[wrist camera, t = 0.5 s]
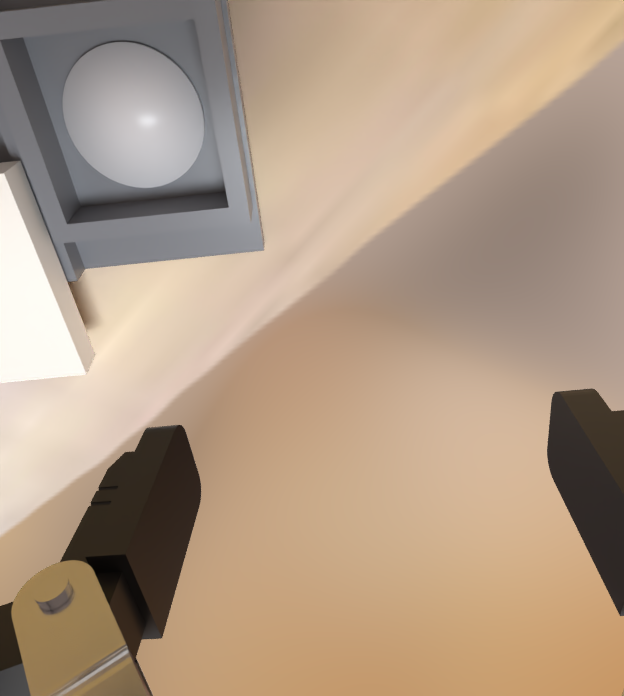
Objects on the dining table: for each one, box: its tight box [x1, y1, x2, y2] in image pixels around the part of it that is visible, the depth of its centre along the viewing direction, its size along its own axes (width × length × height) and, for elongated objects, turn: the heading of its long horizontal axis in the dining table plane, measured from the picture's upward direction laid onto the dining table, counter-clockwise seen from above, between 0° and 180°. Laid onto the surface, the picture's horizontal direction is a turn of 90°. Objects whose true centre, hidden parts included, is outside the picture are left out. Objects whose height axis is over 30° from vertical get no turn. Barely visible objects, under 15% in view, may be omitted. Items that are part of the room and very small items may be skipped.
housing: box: [0, 0, 264, 282], centre depth 28 cm, size 16×21×5 cm
